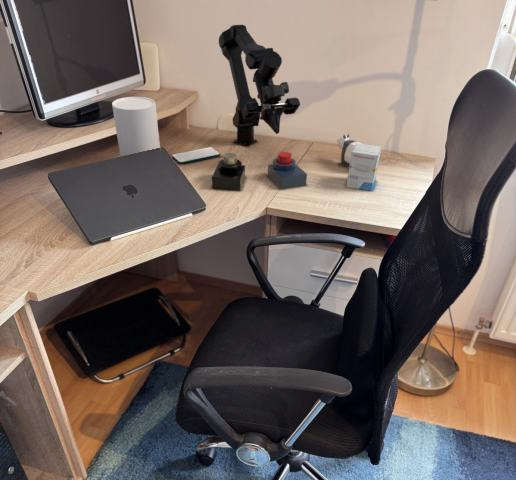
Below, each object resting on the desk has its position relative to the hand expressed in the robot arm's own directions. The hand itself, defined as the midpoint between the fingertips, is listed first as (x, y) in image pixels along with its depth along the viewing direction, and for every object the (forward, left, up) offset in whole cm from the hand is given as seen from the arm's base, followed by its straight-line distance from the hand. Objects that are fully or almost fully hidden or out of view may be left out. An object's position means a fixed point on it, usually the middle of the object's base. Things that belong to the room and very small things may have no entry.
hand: (277, 133), depth 163 cm
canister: (+25, -39, -13) cm, 48 cm away
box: (+5, +7, -13) cm, 15 cm away
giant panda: (-20, +18, -13) cm, 30 cm away
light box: (+18, -7, -13) cm, 23 cm away
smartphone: (+8, -29, -13) cm, 33 cm away
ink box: (-9, +28, -13) cm, 32 cm away
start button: (+3, +5, -7) cm, 10 cm away
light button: (+15, -8, -7) cm, 19 cm away
